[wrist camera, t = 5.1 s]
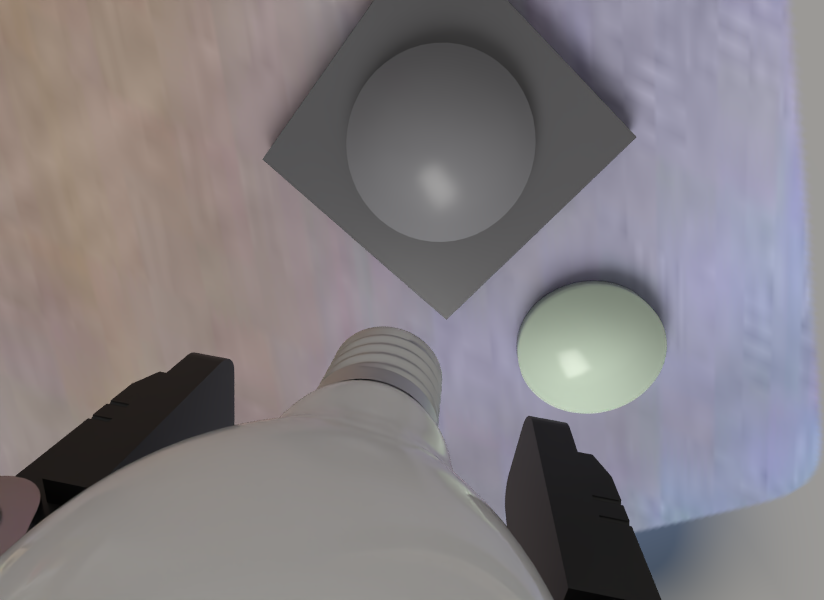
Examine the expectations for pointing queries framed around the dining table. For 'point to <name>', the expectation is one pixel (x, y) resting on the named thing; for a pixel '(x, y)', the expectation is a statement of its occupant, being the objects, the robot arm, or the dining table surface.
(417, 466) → the lightbulb
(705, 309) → the dining table surface
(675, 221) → the dining table surface
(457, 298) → the lamp base pad
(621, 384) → the pale green dome
